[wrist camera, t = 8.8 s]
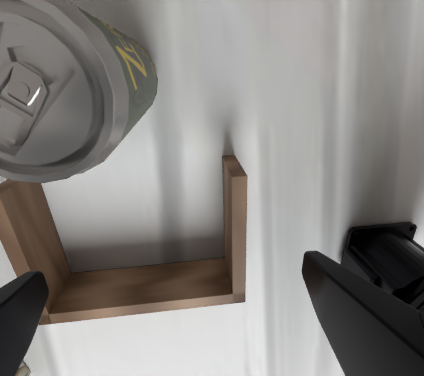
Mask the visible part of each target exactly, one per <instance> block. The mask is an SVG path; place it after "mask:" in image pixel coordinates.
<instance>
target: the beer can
mask: <svg viewBox="0 0 424 376" xmlns="http://www.w3.org/2000/svg"><path fill="white" fill-rule="evenodd" d="M157 83H158V78H157V74H156V70H155V65H154V64H153V62H152V60H151V58H150V56H149V55H148V53H147V52H146V51H145V50H144V49H143V48H142V47H141V46H140V45H139V44H138V43H137V42H136V41H135V40H133V39H131V38H129V37H128V36H126V35H124V34H123V33H121V32H119V31H117V30H116V29H114V28H112V27H111V26H109V25H107V24H105V23H104V22H102V21H100V20H98V19H97V18H95V17H93V16H92V15H90V14H88V13H86V12H85V11H83V10H81V9H80V8H78V7H76V6H74V5H72V4H71V3H69V2H67V1H65V0H0V176H2V177H5V178H8V179H10V180H13V181H23V182H34V183H45V182H51V181H56V180H61V179H67V178H69V177H71V176H73V175H75V174H81V173H84V172H86V171H87V170H89V169H91V168H93V167H95V166H97V165H98V164H100V163H102V162H104V161H105V159H106V158H107V157H108V156H109V155H110V154H111V153H112V151H113V150H114V149H115V148H116V147H117V146H118V144H119V143H120V142H121V141H122V140H123V139H124V137H125V136H126V135H127V134H128V133H129V131H130V130H131V129H132V128H133V127H134V126H135V124H136V123H137V122H138V121H139V120H140V118H141V117H142V116H143V115H144V114H145V113H146V111H147V110H148V109H149V108H150V107H151V105H152V104H153V101H154V99H155V96H156V94H157Z"/></svg>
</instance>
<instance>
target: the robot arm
mask: <svg viewBox="0 0 424 376" xmlns="http://www.w3.org/2000/svg"><path fill="white" fill-rule="evenodd" d="M416 228H417V226H416V225H415V224H413V223H412V222H405V223H395V224H384V225H373V226H363V227H354V228H351V229H350V230H349V232H348V237H347V242H346V246H345V250H344V254H343V259H342V264H341V265H340V264H339V263H337V262H335V261H334V260H332V259H330V258H328V257H327V256H325V255H323V254H322V253H320V252H318V251H306V252H305V254H304V258H303V265H302V275H303V279H304V281H305V284H306V287H307V290H308V293H309V296H310V298H311V301H312V304H313V307H314V310H315V312H316V315H317V317H318V320H319V322H320V324H321V326H322V328H323V330H324V332H325V334H326V336H327V339H328V341H329V343H330V345H331V347H332V349H333V351H334V353H335V355H336V357H337V359H338V361H339V363H340V366H341V368H342V370H343V372H344V374H345V376H424V248H423V247H422V246H420V245H419V244H418V243H416V242H415V241H414V240H413V237H414V234H415V231H416ZM355 232H356V233H355ZM354 233H355V234H354ZM48 296H49V287H48V285H47V282H46V279H45V276H44V274H43V272H42V271H28V272H26V273H24V274H22V275H21V276H19V277H17V278H16V279H14V280H13V281H11V282H9V283H8V284H6V285H4V286H3V287H1V288H0V376H15V375H16V373H17V371H18V369H19V367H20V365H21V363H22V361H23V359H24V357H25V355H26V353H27V351H28V348H29V346H30V344H31V342H32V339H33V337H34V334H35V332H36V329H37V326H38V324H39V321H40V318H41V316H42V313H43V310H44V307H45V305H46V302H47V299H48Z"/></svg>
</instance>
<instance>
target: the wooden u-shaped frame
mask: <svg viewBox="0 0 424 376" xmlns="http://www.w3.org/2000/svg"><path fill="white" fill-rule="evenodd" d="M222 167H223V206H224V246H225V258H220V259H210V260H200V261H190V262H180V263H170V264H160V265H150V266H140V267H129V268H119V269H109V270H99V271H89V272H79V273H71V271H70V268H69V266H68V263H67V260H66V257H65V254H64V251H63V248H62V245H61V242H60V239H59V236H58V233H57V230H56V227H55V224H54V221H53V218H52V215H51V212H50V209H49V207H48V204H47V201H46V198H45V195H44V192H43V189H42V186H41V183H34V182H23V181H13V180H10V179H7V180H6V181H4V182H3V183H1V184H0V240H1V242H2V245H3V247H4V249H5V251H6V253H7V256H8V258H9V260H10V262H11V264H12V267H13V269H14V271H15V273H16V276H17V277H19V276H21V275H22V274H24V273H26V272H28V271H42V272H43V274H44V276H45V279H46V282H47V285H48V287H49V296H48V299H47V302H46V305H45V307H44V310H43V313H42V316H41V318H40V321H39V325H46V324H55V323H64V322H72V321H81V320H90V319H99V318H108V317H117V316H126V315H135V314H143V313H152V312H161V311H170V310H179V309H188V308H197V307H206V306H214V305H223V304H232V303H241V302H245V281H246V219H247V175H246V173H245V172H244V170H243V168H242V167H241V165H240V163H239V162H238V160H237V158H236V157H235V155H233V156H222Z"/></svg>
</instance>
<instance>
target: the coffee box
mask: <svg viewBox="0 0 424 376" xmlns="http://www.w3.org/2000/svg"><path fill="white" fill-rule="evenodd" d="M30 373H31V371H30V370H29V369H28V368H27V366H26V365H25V364H24V363H23V361H22V363H21V365H20V367H19V369H18V371H17V373H16V375H15V376H29V375H30Z"/></svg>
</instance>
